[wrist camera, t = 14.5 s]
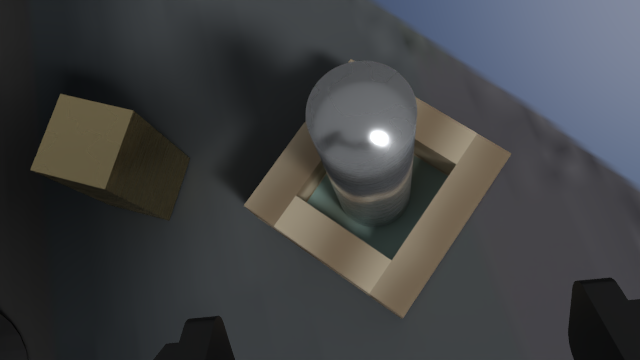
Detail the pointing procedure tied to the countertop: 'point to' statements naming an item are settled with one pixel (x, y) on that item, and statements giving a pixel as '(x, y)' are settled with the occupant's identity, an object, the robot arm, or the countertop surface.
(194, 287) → the countertop surface
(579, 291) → the robot arm
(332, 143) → the cylinder
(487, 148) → the socket block
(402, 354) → the countertop surface
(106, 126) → the yellow brown rectangular block
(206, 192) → the countertop surface
